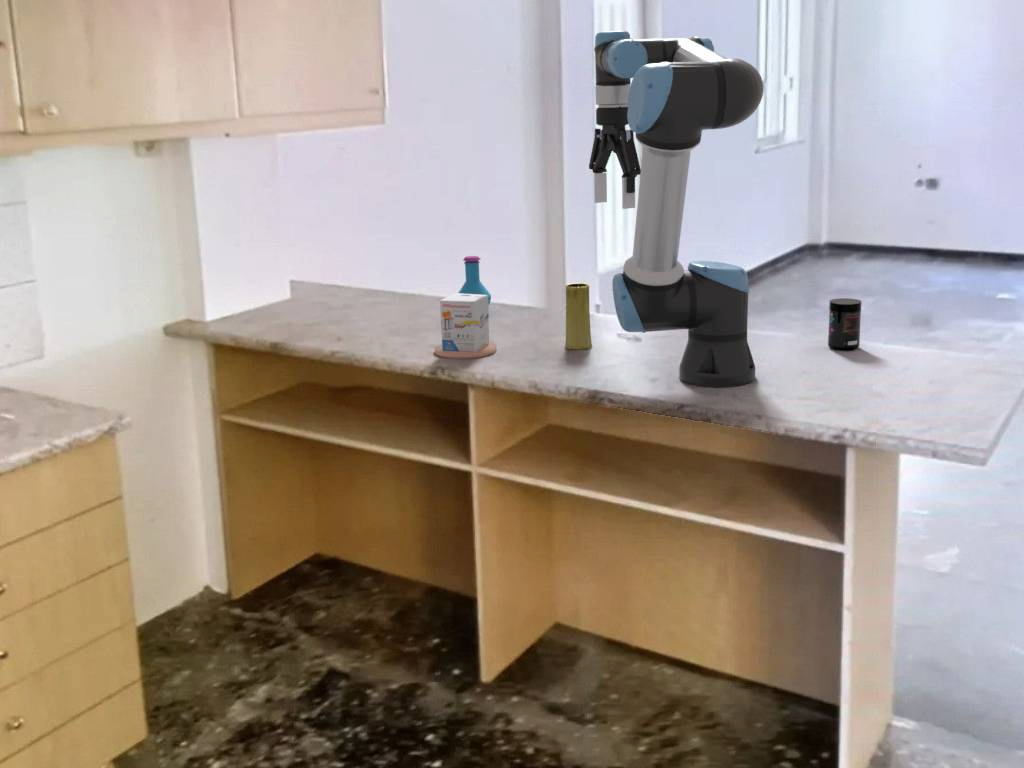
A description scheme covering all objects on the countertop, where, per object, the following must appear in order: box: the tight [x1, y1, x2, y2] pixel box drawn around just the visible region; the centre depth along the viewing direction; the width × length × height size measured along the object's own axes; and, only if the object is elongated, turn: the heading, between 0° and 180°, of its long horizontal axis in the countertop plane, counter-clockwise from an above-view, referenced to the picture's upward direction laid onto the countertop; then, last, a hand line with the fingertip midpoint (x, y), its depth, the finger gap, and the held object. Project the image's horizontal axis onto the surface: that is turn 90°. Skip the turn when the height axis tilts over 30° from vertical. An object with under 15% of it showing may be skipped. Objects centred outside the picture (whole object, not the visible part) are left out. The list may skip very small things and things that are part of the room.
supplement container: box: [827, 298, 863, 352], centre depth 253 cm, size 7×7×10 cm
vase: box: [564, 282, 593, 351], centre depth 262 cm, size 6×6×14 cm
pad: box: [434, 341, 498, 360], centre depth 263 cm, size 14×14×1 cm
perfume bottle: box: [457, 255, 492, 307], centre depth 301 cm, size 9×9×15 cm
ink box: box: [439, 292, 490, 352], centre depth 261 cm, size 9×8×12 cm
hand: (614, 205), depth 255 cm, fingers open, 13 cm apart
